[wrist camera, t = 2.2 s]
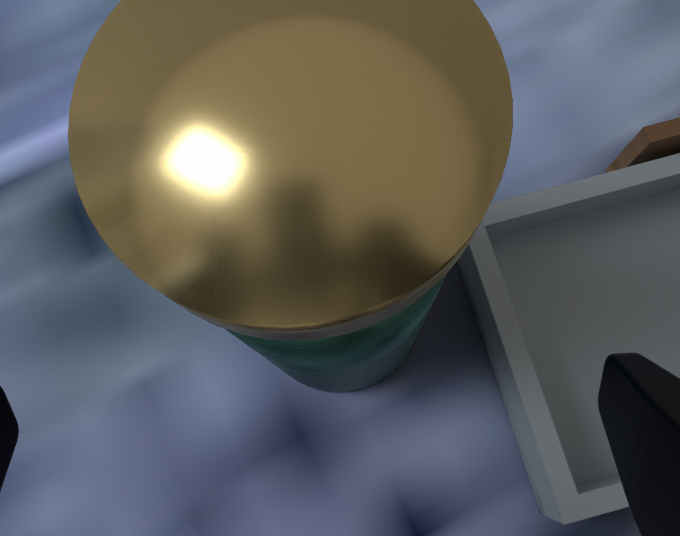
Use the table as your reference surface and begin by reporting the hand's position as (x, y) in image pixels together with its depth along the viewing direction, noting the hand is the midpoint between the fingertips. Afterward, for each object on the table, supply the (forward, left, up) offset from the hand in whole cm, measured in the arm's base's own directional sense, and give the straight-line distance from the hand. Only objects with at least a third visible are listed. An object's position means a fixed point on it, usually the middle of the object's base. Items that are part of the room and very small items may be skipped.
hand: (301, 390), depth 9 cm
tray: (0, -9, -10) cm, 14 cm away
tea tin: (+3, -1, -10) cm, 11 cm away
